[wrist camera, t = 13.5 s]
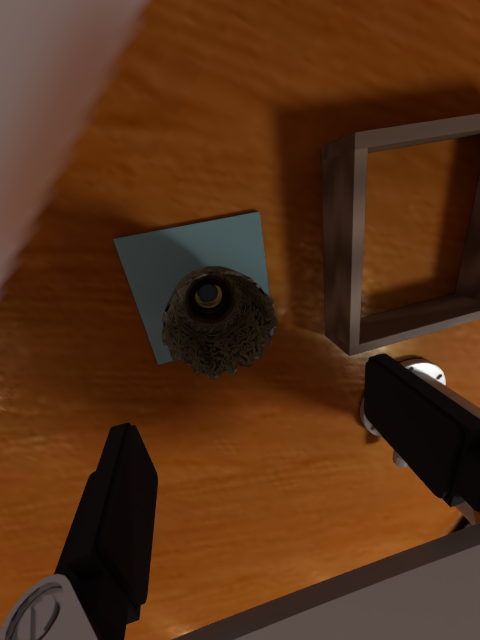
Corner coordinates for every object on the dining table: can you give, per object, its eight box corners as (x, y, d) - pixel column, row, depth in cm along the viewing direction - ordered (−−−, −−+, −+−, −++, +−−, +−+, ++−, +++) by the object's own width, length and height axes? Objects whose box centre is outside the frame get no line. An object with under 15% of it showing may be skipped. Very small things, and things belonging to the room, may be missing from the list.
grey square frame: (460, 299, 31) (501, 312, 27) (325, 335, 29) (349, 356, 25) (500, 118, 24) (566, 100, 20) (321, 146, 21) (355, 132, 17)
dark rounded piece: (146, 293, 22) (133, 334, 15) (207, 232, 22) (223, 244, 14) (207, 343, 26) (220, 396, 18) (262, 292, 25) (298, 326, 18)
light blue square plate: (272, 333, 27) (274, 334, 27) (158, 362, 26) (158, 364, 25) (258, 211, 22) (259, 211, 22) (114, 238, 20) (113, 239, 20)
